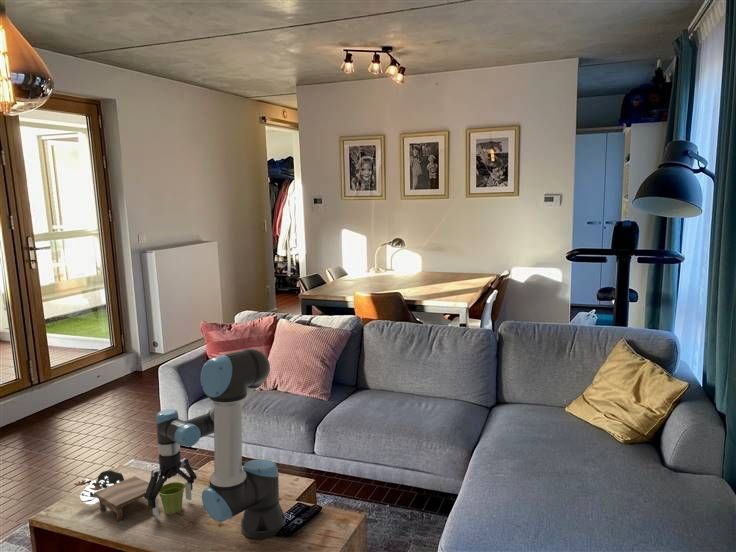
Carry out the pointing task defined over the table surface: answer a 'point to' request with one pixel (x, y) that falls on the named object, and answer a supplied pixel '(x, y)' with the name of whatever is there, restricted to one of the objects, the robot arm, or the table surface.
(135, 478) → the footstool
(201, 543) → the table surface
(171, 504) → the plant pot
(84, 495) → the figurine
